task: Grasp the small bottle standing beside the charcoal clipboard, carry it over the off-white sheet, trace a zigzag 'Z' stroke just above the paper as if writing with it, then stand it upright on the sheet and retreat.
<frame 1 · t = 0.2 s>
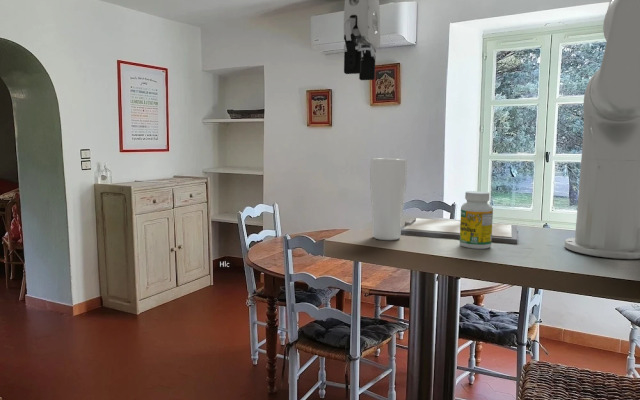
hand: (360, 76, 94), 31 cm above the table, tool pointing down, fingers open, 9 cm apart
supplement bottle: (474, 247, 85), on the table
drinking glass: (386, 239, 91), on the table
notepad: (458, 231, 98), on the table
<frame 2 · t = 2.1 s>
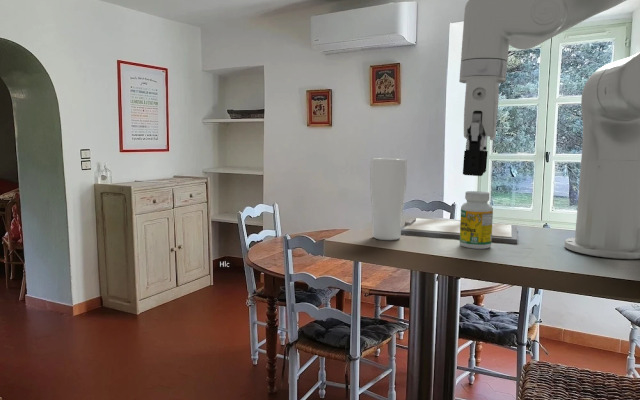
hand: (474, 173, 83), 13 cm above the table, tool pointing down, fingers open, 9 cm apart
nothing on the table moved.
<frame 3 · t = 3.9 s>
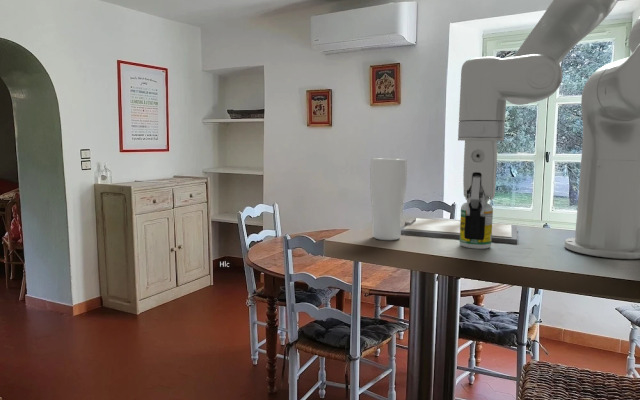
hand: (475, 234, 85), 2 cm above the table, tool pointing down, fingers closed on supplement bottle, 5 cm apart
supplement bottle: (474, 247, 85), on the table, touching gripper
everything else where it was.
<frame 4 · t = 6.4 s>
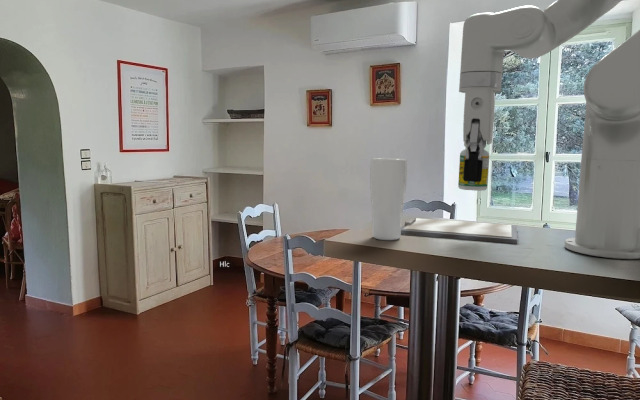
hand: (473, 179, 92), 11 cm above the table, tool pointing down, fingers closed on supplement bottle, 5 cm apart
supplement bottle: (472, 190, 93), point 9 cm above the table, touching gripper
everything else where it was.
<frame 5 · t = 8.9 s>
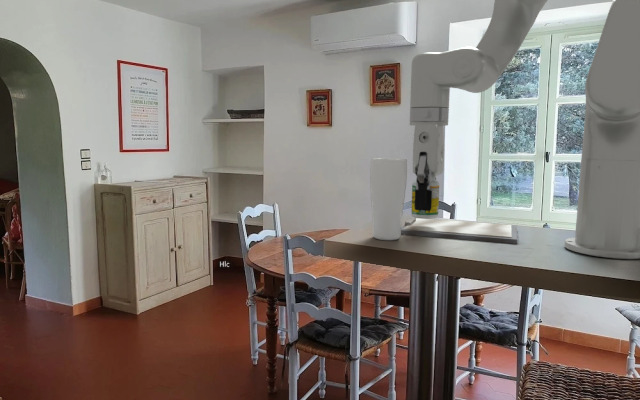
hand: (425, 207, 97), 5 cm above the table, tool pointing down, fingers closed on supplement bottle, 5 cm apart
supplement bottle: (424, 218, 98), point 3 cm above the table, touching gripper
everything else where it was.
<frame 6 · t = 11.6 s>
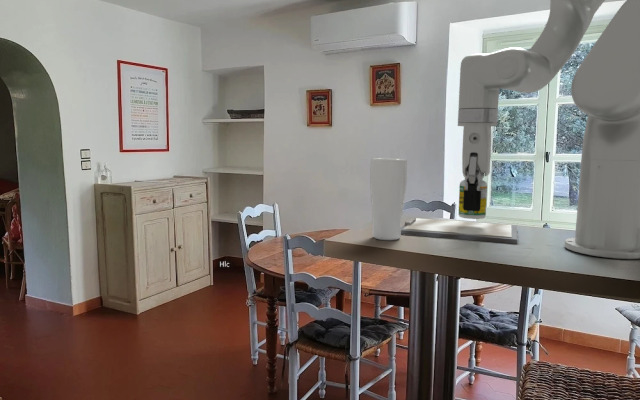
hand: (472, 207, 98), 5 cm above the table, tool pointing down, fingers closed on supplement bottle, 5 cm apart
supplement bottle: (471, 218, 98), point 3 cm above the table, touching gripper
everything else where it was.
when the fingers open (4 cm above the table, at t = 14.0 s): supplement bottle stays where it is, resting on notepad.
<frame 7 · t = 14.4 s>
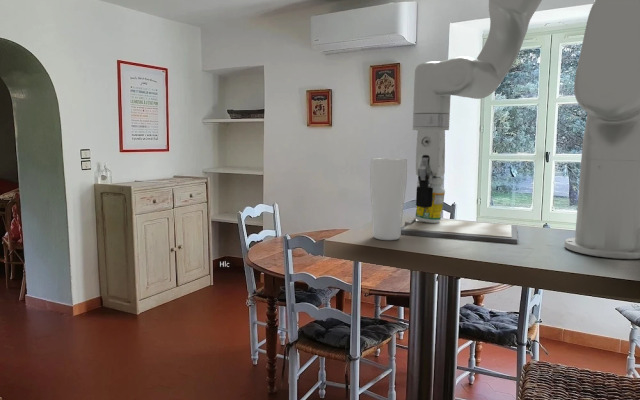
hand: (427, 203, 103), 5 cm above the table, tool pointing down, fingers open, 9 cm apart
supplement bottle: (427, 221, 103), point 1 cm above the table, touching notepad
everything else where it was.
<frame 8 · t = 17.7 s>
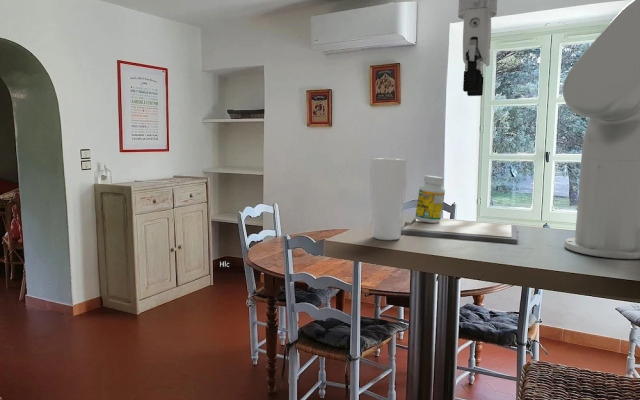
hand: (473, 93, 100), 28 cm above the table, tool pointing down, fingers open, 9 cm apart
nothing on the table moved.
at the end: supplement bottle inside the target area on the notepad (7.6 cm from its centre), point 1.1 cm above the notepad's base; supplement bottle tilted 7°; the gripper is holding nothing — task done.
